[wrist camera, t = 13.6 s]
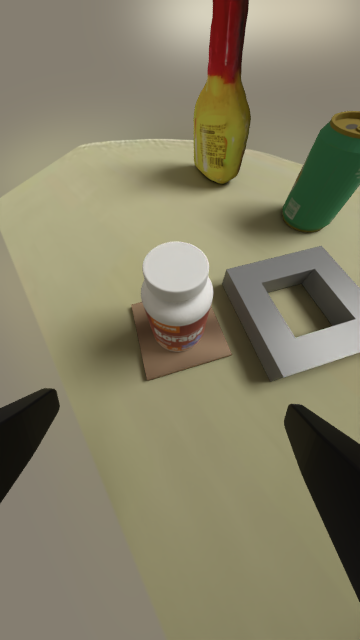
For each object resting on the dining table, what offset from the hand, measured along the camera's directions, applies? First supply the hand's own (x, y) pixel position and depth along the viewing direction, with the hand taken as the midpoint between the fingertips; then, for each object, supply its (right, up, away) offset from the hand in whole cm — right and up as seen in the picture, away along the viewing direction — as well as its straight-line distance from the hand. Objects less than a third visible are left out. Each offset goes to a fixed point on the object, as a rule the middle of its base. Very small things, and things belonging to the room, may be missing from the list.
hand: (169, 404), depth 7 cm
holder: (+15, +4, +17) cm, 23 cm away
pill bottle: (0, +2, +16) cm, 16 cm away
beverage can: (+22, +21, +25) cm, 40 cm away
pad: (0, +2, +16) cm, 16 cm away
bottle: (+7, +34, +32) cm, 47 cm away
